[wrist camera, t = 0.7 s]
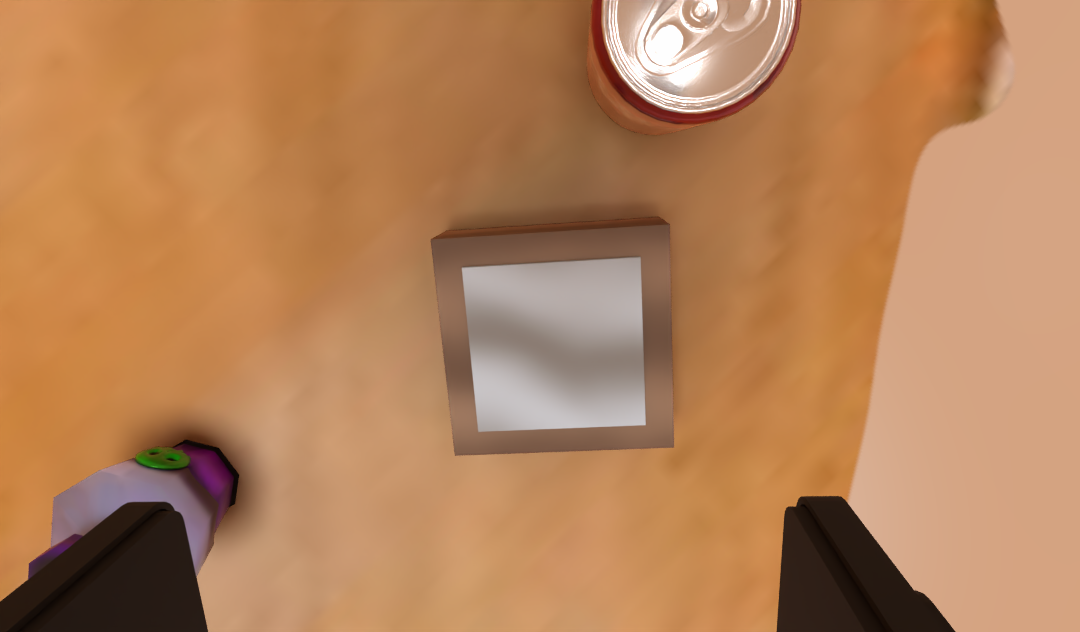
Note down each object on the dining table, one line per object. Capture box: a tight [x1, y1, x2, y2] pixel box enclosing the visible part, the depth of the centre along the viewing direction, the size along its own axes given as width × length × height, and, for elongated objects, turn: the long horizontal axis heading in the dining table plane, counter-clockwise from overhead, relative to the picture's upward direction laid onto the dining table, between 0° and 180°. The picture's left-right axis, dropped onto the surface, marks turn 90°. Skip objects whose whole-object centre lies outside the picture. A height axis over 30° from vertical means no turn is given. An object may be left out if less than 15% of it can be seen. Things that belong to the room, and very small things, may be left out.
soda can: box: [587, 0, 801, 135], centre depth 27 cm, size 7×7×12 cm
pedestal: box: [431, 217, 674, 456], centre depth 35 cm, size 12×12×4 cm
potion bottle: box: [28, 440, 239, 579], centre depth 35 cm, size 9×9×12 cm
